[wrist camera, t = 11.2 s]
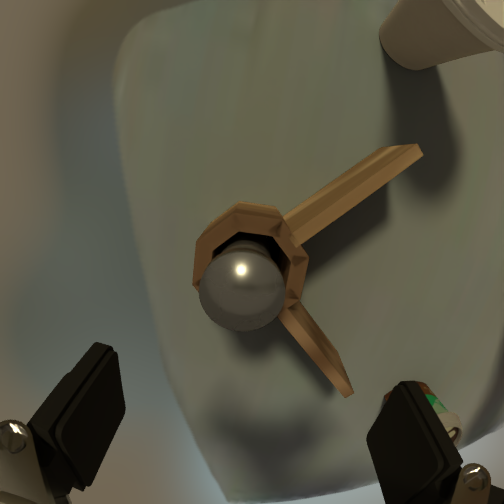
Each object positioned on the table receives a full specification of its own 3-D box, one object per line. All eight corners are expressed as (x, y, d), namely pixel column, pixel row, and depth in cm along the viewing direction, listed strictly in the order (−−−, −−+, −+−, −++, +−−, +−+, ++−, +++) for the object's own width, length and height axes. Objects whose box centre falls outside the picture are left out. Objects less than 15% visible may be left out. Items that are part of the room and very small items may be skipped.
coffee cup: (383, -6, 20) (446, -76, 5) (450, 46, 21) (536, 8, 6) (350, 45, 22) (421, -35, 7) (426, 101, 23) (531, 75, 9)
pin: (284, 250, 28) (301, 302, 17) (241, 280, 28) (234, 344, 18) (252, 207, 27) (250, 234, 16) (209, 239, 27) (181, 285, 17)
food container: (446, 392, 34) (475, 434, 24) (417, 418, 35) (440, 462, 25) (413, 360, 32) (448, 411, 22) (378, 392, 33) (403, 446, 23)
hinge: (443, 274, 28) (479, 299, 21) (304, 372, 32) (313, 415, 25) (360, 116, 24) (392, 103, 17) (191, 237, 27) (171, 260, 21)
